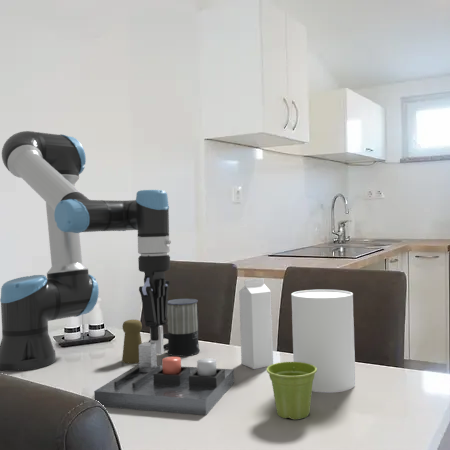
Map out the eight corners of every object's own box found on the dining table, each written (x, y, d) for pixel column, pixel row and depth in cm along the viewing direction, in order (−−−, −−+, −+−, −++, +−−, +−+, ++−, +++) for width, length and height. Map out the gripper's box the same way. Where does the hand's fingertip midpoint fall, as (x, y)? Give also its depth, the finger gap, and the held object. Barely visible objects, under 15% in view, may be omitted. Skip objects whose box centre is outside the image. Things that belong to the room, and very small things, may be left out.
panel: (94, 405, 103) (93, 381, 103) (138, 376, 122) (138, 355, 122) (206, 415, 96) (205, 388, 96) (234, 382, 115) (233, 360, 115)
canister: (288, 389, 109) (285, 297, 109) (300, 371, 122) (298, 289, 122) (352, 394, 105) (349, 298, 105) (358, 375, 117) (355, 290, 117)
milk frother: (198, 356, 139) (196, 302, 139) (141, 358, 139) (139, 304, 139) (201, 344, 153) (200, 295, 153) (150, 345, 154) (148, 297, 154)
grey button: (194, 377, 105) (194, 363, 105) (201, 371, 109) (200, 357, 109) (213, 378, 104) (212, 363, 104) (218, 372, 108) (218, 358, 108)
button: (159, 375, 108) (159, 361, 108) (167, 369, 111) (166, 356, 111) (177, 376, 106) (176, 362, 106) (184, 370, 110) (183, 357, 110)
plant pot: (284, 427, 89) (282, 378, 89) (259, 410, 98) (258, 365, 98) (328, 418, 93) (326, 371, 93) (300, 402, 102) (299, 359, 102)
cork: (139, 364, 133) (138, 322, 133) (118, 363, 135) (117, 322, 135) (147, 357, 139) (146, 318, 139) (127, 357, 140) (125, 317, 140)
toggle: (139, 371, 115) (138, 345, 115) (145, 367, 118) (144, 342, 118) (151, 372, 114) (150, 345, 114) (156, 368, 117) (156, 342, 117)
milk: (273, 365, 128) (271, 279, 128) (253, 369, 125) (251, 280, 125) (260, 360, 133) (258, 276, 133) (240, 363, 130) (238, 278, 130)
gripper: (157, 256, 114) (160, 360, 114) (178, 252, 126) (181, 346, 126) (127, 256, 116) (130, 359, 116) (151, 253, 128) (154, 345, 128)
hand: (157, 352), depth 121 cm, fingers closed
